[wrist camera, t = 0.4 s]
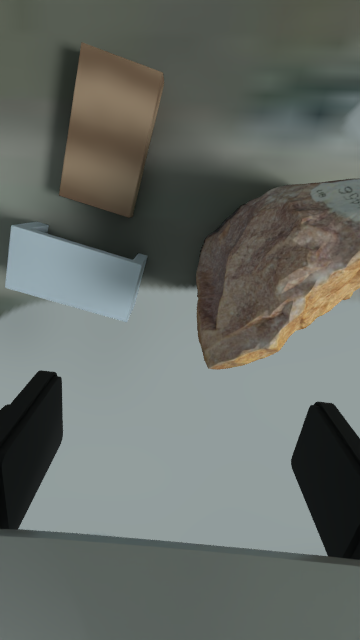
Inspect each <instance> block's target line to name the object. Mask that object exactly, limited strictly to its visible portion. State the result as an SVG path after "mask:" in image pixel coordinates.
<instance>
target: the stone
mask: <svg viewBox="0 0 360 640" xmlns="http://www.w3.org/2000/svg"><path fill="white" fill-rule="evenodd" d="M202 246H203V247H201V248H202V249H201V251H200V252H201V254H200V256H199V257H200V260H199V264H198V268H197V272H196V284H197V289H198V295H197V297H198V303H197V330H198V337H199V342H200V344H201V348H202V352H203V356H204V360H205V362H206V364H207V367H208V368H209V369H226V368H232V367H237V366H242V365H245V364H248V363H251V362H253V361H256V360H258V359H262V358H265V357H267V356H270V355H272V354H274V353H276V352H278V351H279V350H280V349H281V348H282V347H283V345H284V343H285V342H286V341H287V339H288V338H289V337H290V336H291V335H292V334H293V333H294V332H295V331H296V330H300V329H304V328H306V327H307V326H309V325H310V324H311V323H312V322H313V321H314V320H315V319H316V318H317V317H319V316H322V315H323V314H325V313H327V312H329V311H330V310H331V309H332V308H333V307H334V306H335V305H337V304H338V303H339V302H340V301H341V300H346V299H349V298H350V297H351V296H352V294H353V292H354V291H355V290H357V289H358V288H360V179H346V180H337V181H329V182H321V183H308V184H296V185H286V186H279V187H276V188H273V189H271V190H269V191H267V192H266V193H265V194H263V195H262V196H260V197H259V198H256V199H253V200H251V201H249V202H248V203H247V204H243V205H241V206H240V207H239V208H238V209H237V210H236V211H235V213H233V214H232V215H231V216H229V217H228V218H227V219H226V220H225V221H224V222H223V223H222V224H221V226H220V227H219V228H218V229H217V230H216V231H214V232H213V233H211V234H210V235H208V236H207V237H206V238H205V240H204V245H202Z"/></svg>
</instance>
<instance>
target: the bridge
mask: <svg viewBox="0 0 360 640" xmlns="http://www.w3.org/2000/svg"><path fill="white" fill-rule="evenodd" d="M48 227H49V225H46V224H43V223H40V222H31V223H24V224H16V225H11V233H10V243H9V254H8V264H7V274H6V284H5V288H8V289H12V290H15V291H19V292H22V293H26V294H29V295H33V296H36V297H40V298H43V299H47V300H50V301H54V302H57V303H61V304H64V305H68V306H72V307H75V308H79V309H82V310H86V311H89V312H93V313H96V314H100V315H103V316H107V317H110V318H114V319H117V320H121V321H124V322H127V321H128V318H129V316H130V314H131V311H132V310H133V308H134V305H135V302H136V297H137V294H138V290H139V287H140V283H141V279H142V275H143V272H144V268H145V264H146V261H147V257H148V256H146V255H143V254H140V253H138V254H137V256H136V257H135V258H134V259H133V260H131V259H128V258H125V257H122V256H118V255H115V254H112V253H109V252H105V251H102V250H99V249H96V248H92V247H89V246H86V245H83V244H79V243H76V242H73V241H70V240H66V239H63V238H60V237H57V236H53V235H50V234H48Z"/></svg>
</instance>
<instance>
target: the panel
mask: <svg viewBox="0 0 360 640" xmlns="http://www.w3.org/2000/svg"><path fill="white" fill-rule="evenodd" d="M163 86H164V77H163V73H162V72H160V71H157V70H154V69H152V68H149V67H146V66H144V65H141V64H138V63H135V62H133V61H130V60H127V59H125V58H122V57H119V56H117V55H114V54H111V53H109V52H106V51H103V50H101V49H98V48H95V47H93V46H90V45H87V44H85V43H81V50H80V56H79V63H78V70H77V77H76V83H75V90H74V97H73V104H72V110H71V117H70V124H69V131H68V137H67V144H66V151H65V158H64V165H63V171H62V178H61V185H60V192H59V196H63V197H66V198H69V199H72V200H75V201H78V202H81V203H84V204H88V205H91V206H94V207H97V208H100V209H103V210H106V211H109V212H113V213H116V214H119V215H122V216H125V217H128V218H130V217H133V213H134V208H135V204H136V200H137V196H138V192H139V187H140V183H141V179H142V175H143V170H144V166H145V162H146V158H147V153H148V149H149V145H150V141H151V136H152V132H153V128H154V124H155V120H156V115H157V111H158V107H159V103H160V98H161V94H162V90H163Z"/></svg>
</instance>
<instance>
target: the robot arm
mask: <svg viewBox="0 0 360 640" xmlns="http://www.w3.org/2000/svg"><path fill="white" fill-rule="evenodd" d="M62 437H63V421H62V380H61V377H58V376H57V374H56V373H55V372H49V371H38V372H37V373H36V375H35V376H34V377H33V378H32V379H31V381H30V382H29V383H28V384H27V385H26V386H25V388H24V389H23V390H22V391H21V392H20V393H19V395H18V396H17V397H16V398H15V399H14V400H13V402H12V403H11V404H10V405H5V406H4V407H3V408H2V409H1V410H0V640H360V438H359V437H358V436H357V434H356V433H355V432H354V430H353V429H352V428H351V427H350V425H349V424H348V423H347V421H346V420H345V418H344V417H343V416H342V414H341V413H340V412H339V410H338V409H337V408H336V406H335V405H334V404H332V403H324V402H316V403H315V404H314V405H311V406H310V408H309V410H308V413H307V416H306V418H305V421H304V424H303V427H302V430H301V433H300V436H299V439H298V441H297V444H296V447H295V450H294V453H293V456H292V459H291V465H292V469H293V472H294V474H295V476H296V479H297V481H298V484H299V486H300V489H301V491H302V494H303V496H304V499H305V501H306V503H307V506H308V508H309V510H310V513H311V516H312V518H313V520H314V523H315V525H316V528H317V530H318V533H319V535H320V537H321V540H322V542H323V545H324V547H325V550H326V552H327V555H328V556H318V555H307V554H298V553H288V552H277V551H267V550H257V549H246V548H236V547H224V546H214V545H204V544H192V543H182V542H171V541H160V540H147V539H136V538H124V537H113V536H101V535H90V534H78V533H65V532H50V531H35V530H20V529H18V528H19V526H20V524H21V522H22V520H23V518H24V516H25V514H26V512H27V510H28V508H29V506H30V504H31V502H32V500H33V498H34V496H35V494H36V492H37V490H38V488H39V486H40V484H41V482H42V480H43V478H44V476H45V474H46V472H47V470H48V468H49V466H50V464H51V462H52V460H53V458H54V456H55V454H56V452H57V450H58V448H59V446H60V444H61V441H62Z"/></svg>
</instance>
